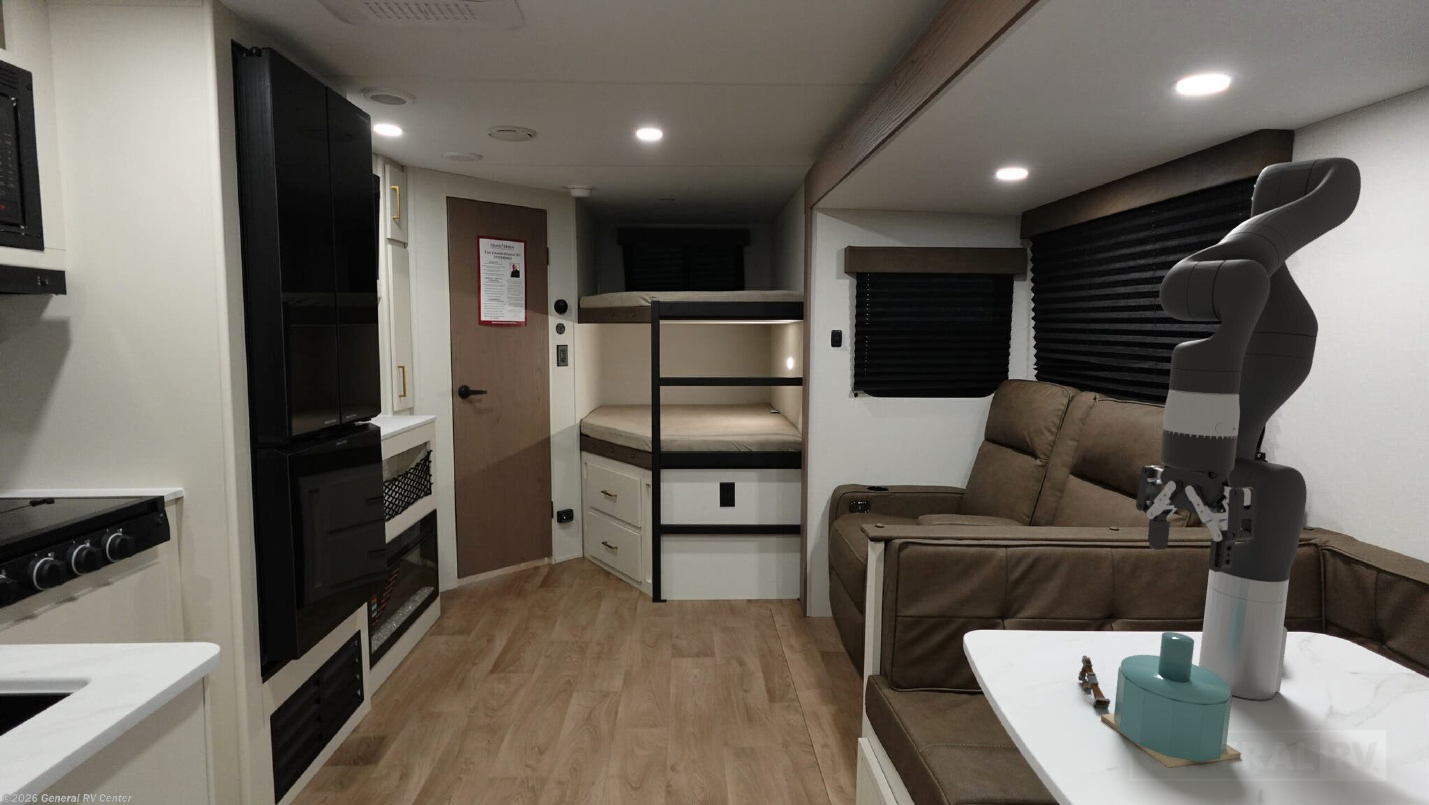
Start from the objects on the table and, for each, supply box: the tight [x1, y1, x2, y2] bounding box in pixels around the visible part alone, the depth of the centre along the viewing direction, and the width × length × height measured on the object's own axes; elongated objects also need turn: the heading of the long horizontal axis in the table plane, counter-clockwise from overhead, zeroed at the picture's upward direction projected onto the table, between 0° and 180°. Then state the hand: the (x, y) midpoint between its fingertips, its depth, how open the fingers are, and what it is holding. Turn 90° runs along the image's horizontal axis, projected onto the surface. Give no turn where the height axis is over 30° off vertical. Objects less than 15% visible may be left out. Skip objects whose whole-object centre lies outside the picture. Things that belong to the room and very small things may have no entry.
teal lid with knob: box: [1113, 631, 1233, 762], centre depth 90 cm, size 12×12×13 cm
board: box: [1100, 712, 1242, 768], centre depth 91 cm, size 11×11×1 cm
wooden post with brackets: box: [1077, 655, 1111, 710], centre depth 102 cm, size 2×8×4 cm, turn 172°
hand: (1186, 559), depth 89 cm, fingers open, 8 cm apart
